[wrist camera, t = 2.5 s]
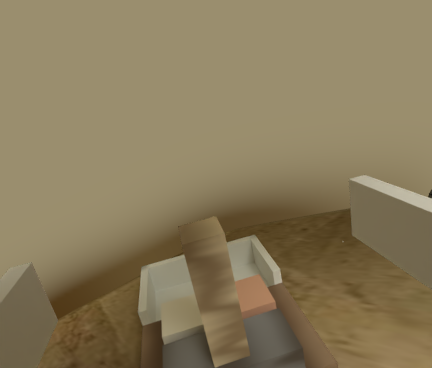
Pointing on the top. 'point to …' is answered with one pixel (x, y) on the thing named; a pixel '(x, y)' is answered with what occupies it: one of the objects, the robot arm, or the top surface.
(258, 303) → the tile terracotta
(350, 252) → the top surface
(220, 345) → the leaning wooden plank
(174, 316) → the tile cream
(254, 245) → the tray
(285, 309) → the board
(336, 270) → the top surface
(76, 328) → the top surface
